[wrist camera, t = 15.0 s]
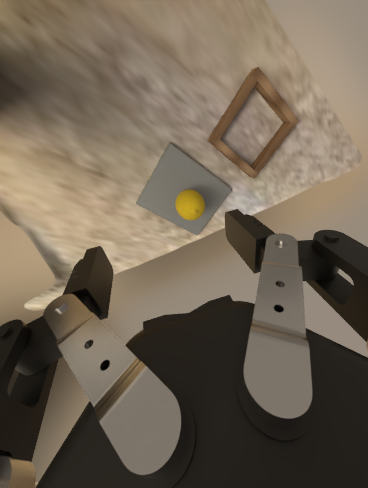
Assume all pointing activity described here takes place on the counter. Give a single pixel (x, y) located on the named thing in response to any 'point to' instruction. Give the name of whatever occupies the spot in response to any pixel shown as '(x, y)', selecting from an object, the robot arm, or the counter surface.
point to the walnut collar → (252, 80)
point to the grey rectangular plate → (181, 189)
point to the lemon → (190, 204)
